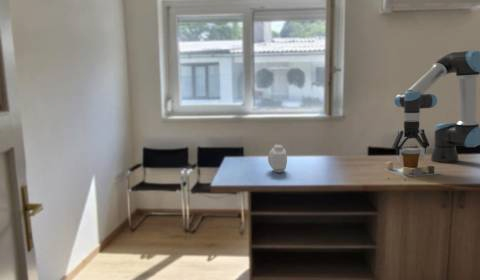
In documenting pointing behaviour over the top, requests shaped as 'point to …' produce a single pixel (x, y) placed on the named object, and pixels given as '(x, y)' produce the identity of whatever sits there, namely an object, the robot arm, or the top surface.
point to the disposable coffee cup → (410, 157)
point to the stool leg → (425, 169)
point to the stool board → (405, 171)
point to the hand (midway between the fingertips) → (410, 160)
